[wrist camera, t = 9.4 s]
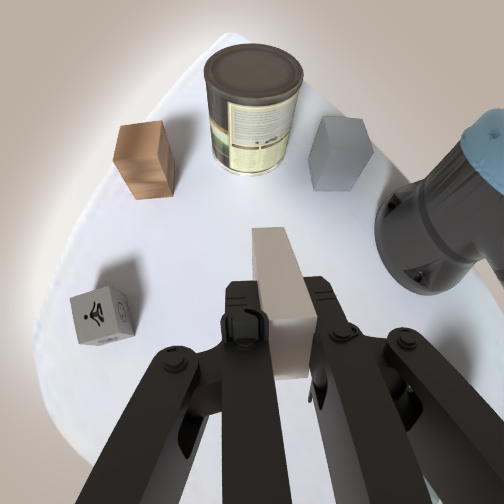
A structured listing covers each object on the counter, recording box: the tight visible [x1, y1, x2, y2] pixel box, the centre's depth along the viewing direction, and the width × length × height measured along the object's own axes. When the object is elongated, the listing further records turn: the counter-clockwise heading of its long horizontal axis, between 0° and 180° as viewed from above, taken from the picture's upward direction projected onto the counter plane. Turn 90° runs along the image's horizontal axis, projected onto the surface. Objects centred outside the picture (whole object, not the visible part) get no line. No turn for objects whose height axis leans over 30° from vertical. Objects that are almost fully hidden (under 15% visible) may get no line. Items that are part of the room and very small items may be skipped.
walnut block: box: [113, 121, 175, 200], centre depth 34 cm, size 5×5×9 cm
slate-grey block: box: [308, 116, 374, 191], centre depth 35 cm, size 5×5×9 cm
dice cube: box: [70, 286, 135, 346], centre depth 30 cm, size 5×5×5 cm
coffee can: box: [204, 44, 304, 176], centre depth 34 cm, size 10×10×14 cm
